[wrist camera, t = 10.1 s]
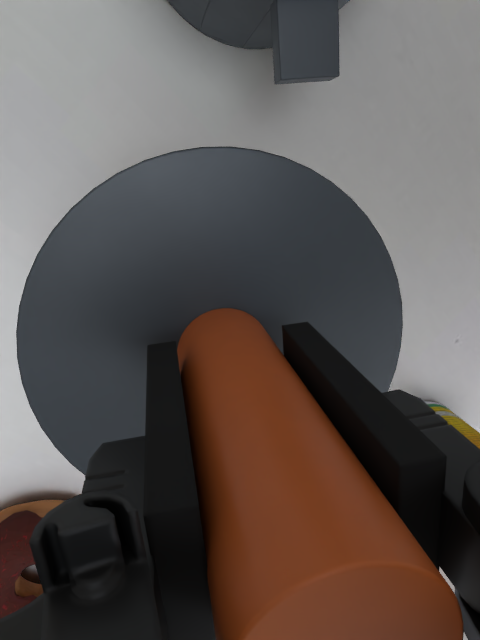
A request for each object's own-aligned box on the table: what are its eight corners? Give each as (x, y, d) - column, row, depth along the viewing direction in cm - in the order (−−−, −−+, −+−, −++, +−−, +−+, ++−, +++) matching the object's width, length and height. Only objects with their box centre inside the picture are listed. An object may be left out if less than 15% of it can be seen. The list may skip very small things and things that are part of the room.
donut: (71, 463, 30) (60, 505, 26) (151, 560, 33) (151, 609, 29) (-66, 540, 30) (-98, 594, 26) (28, 629, 33) (12, 688, 29)
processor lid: (389, 132, 15) (966, 37, 4) (384, 458, 19) (678, 821, 8) (-21, 168, 13) (-731, 154, 3) (70, 520, 17) (-60, 1081, 7)
